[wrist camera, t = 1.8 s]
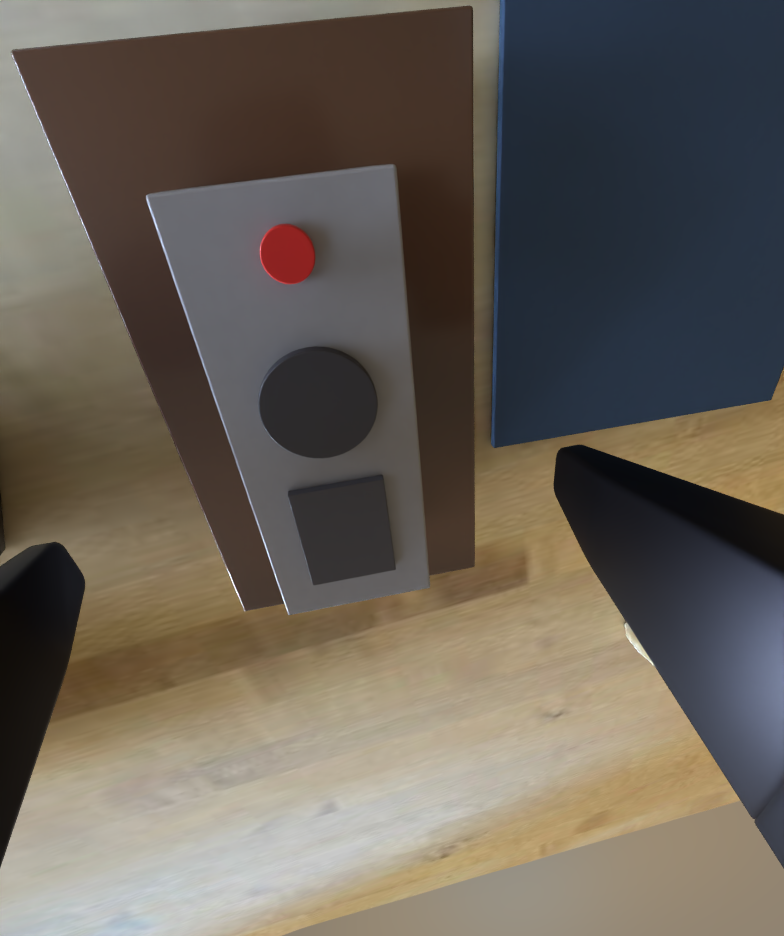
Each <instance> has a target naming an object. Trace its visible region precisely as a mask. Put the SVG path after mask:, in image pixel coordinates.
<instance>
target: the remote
mask: <svg viewBox="0 0 784 936" xmlns="http://www.w3.org/2000/svg"><path fill="white" fill-rule="evenodd" d="M146 201H147V203H148V206H149V209H150V212H151V215H152V218H153V221H154V224H155V227H156V230H157V233H158V236H159V239H160V241H161V244H162V247H163V250H164V253H165V256H166V259H167V262H168V265H169V268H170V271H171V274H172V276H173V279H174V282H175V285H176V288H177V291H178V294H179V297H180V300H181V303H182V306H183V309H184V312H185V314H186V317H187V320H188V323H189V326H190V329H191V332H192V335H193V338H194V341H195V344H196V347H197V350H198V352H199V355H200V358H201V361H202V364H203V367H204V370H205V373H206V376H207V379H208V382H209V385H210V387H211V390H212V393H213V396H214V399H215V402H216V405H217V408H218V411H219V414H220V417H221V420H222V423H223V425H224V428H225V431H226V434H227V437H228V440H229V443H230V446H231V449H232V452H233V455H234V458H235V461H236V463H237V466H238V469H239V472H240V475H241V478H242V481H243V484H244V487H245V490H246V493H247V496H248V499H249V501H250V504H251V507H252V510H253V513H254V516H255V519H256V522H257V525H258V528H259V531H260V534H261V536H262V539H263V542H264V545H265V548H266V551H267V554H268V557H269V560H270V563H271V566H272V569H273V572H274V574H275V577H276V580H277V583H278V586H279V589H280V592H281V595H282V598H283V601H284V604H285V607H286V610H287V612H288V614H289V615H292V614H297V613H302V612H307V611H312V610H318V609H323V608H328V607H333V606H338V605H343V604H348V603H353V602H359V601H364V600H369V599H374V598H379V597H384V596H389V595H394V594H400V593H405V592H410V591H415V590H420V589H425V588H429V587H430V577H429V564H428V552H427V539H426V527H425V515H424V502H423V490H422V477H421V465H420V452H419V440H418V428H417V415H416V403H415V390H414V378H413V365H412V353H411V341H410V328H409V316H408V303H407V291H406V278H405V266H404V254H403V241H402V229H401V216H400V204H399V191H398V179H397V168H396V166H395V165H394V164H386V165H373V166H365V167H357V168H349V169H340V170H332V171H324V172H316V173H308V174H299V175H291V176H283V177H275V178H267V179H258V180H250V181H242V182H234V183H226V184H218V185H209V186H201V187H193V188H185V189H178V190H171V191H164V192H158V193H151V194H148V195H146Z"/></svg>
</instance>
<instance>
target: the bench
mask: <svg viewBox="0 0 784 936" xmlns="http://www.w3.org/2000/svg"><path fill="white" fill-rule="evenodd" d="M11 55H12V57H13V60H14V62H15V65H16V67H17V69H18V72H19V74H20V77H21V79H22V81H23V84H24V86H25V88H26V91H27V93H28V96H29V98H30V100H31V103H32V105H33V108H34V110H35V112H36V115H37V117H38V119H39V122H40V124H41V127H42V129H43V131H44V134H45V136H46V139H47V141H48V143H49V146H50V148H51V151H52V153H53V155H54V158H55V160H56V162H57V165H58V167H59V170H60V172H61V174H62V177H63V179H64V182H65V184H66V186H67V189H68V191H69V193H70V196H71V198H72V201H73V203H74V205H75V208H76V210H77V213H78V215H79V217H80V220H81V222H82V224H83V227H84V229H85V232H86V234H87V236H88V239H89V241H90V244H91V246H92V248H93V251H94V253H95V256H96V258H97V260H98V263H99V265H100V267H101V270H102V272H103V275H104V277H105V279H106V282H107V284H108V287H109V289H110V291H111V294H112V296H113V298H114V301H115V303H116V306H117V308H118V310H119V313H120V315H121V318H122V320H123V322H124V325H125V327H126V330H127V332H128V334H129V337H130V339H131V341H132V344H133V346H134V349H135V351H136V353H137V356H138V358H139V361H140V363H141V365H142V368H143V370H144V372H145V375H146V377H147V380H148V382H149V384H150V387H151V389H152V392H153V394H154V396H155V399H156V401H157V403H158V406H159V408H160V411H161V413H162V415H163V418H164V420H165V423H166V425H167V427H168V430H169V432H170V435H171V437H172V439H173V442H174V444H175V446H176V449H177V451H178V454H179V456H180V458H181V461H182V463H183V466H184V468H185V470H186V473H187V475H188V477H189V480H190V482H191V485H192V487H193V489H194V492H195V494H196V497H197V499H198V501H199V504H200V506H201V508H202V511H203V513H204V516H205V518H206V520H207V523H208V525H209V528H210V530H211V532H212V535H213V537H214V540H215V542H216V544H217V547H218V549H219V551H220V554H221V556H222V559H223V561H224V563H225V566H226V568H227V571H228V573H229V575H230V578H231V580H232V582H233V585H234V587H235V590H236V592H237V594H238V597H239V599H240V602H241V604H242V606H243V609H244V611H248V610H253V609H259V608H264V607H269V606H274V605H279V604H284V601H283V598H282V595H281V592H280V589H279V586H278V583H277V580H276V577H275V574H274V572H273V569H272V566H271V563H270V560H269V557H268V554H267V551H266V548H265V545H264V542H263V539H262V536H261V534H260V531H259V528H258V525H257V522H256V519H255V516H254V513H253V510H252V507H251V504H250V501H249V499H248V496H247V493H246V490H245V487H244V484H243V481H242V478H241V475H240V472H239V469H238V466H237V463H236V461H235V458H234V455H233V452H232V449H231V446H230V443H229V440H228V437H227V434H226V431H225V428H224V425H223V423H222V420H221V417H220V414H219V411H218V408H217V405H216V402H215V399H214V396H213V393H212V390H211V387H210V385H209V382H208V379H207V376H206V373H205V370H204V367H203V364H202V361H201V358H200V355H199V352H198V350H197V347H196V344H195V341H194V338H193V335H192V332H191V329H190V326H189V323H188V320H187V317H186V314H185V312H184V309H183V306H182V303H181V300H180V297H179V294H178V291H177V288H176V285H175V282H174V279H173V276H172V274H171V271H170V268H169V265H168V262H167V259H166V256H165V253H164V250H163V247H162V244H161V241H160V239H159V236H158V233H157V230H156V227H155V224H154V221H153V218H152V215H151V212H150V209H149V206H148V203H147V201H146V195H148V194H151V193H158V192H164V191H171V190H178V189H185V188H193V187H201V186H209V185H218V184H226V183H234V182H242V181H250V180H258V179H267V178H275V177H283V176H291V175H299V174H308V173H316V172H324V171H332V170H340V169H349V168H357V167H365V166H373V165H386V164H394V165H395V166H396V168H397V179H398V191H399V204H400V216H401V229H402V241H403V254H404V266H405V278H406V291H407V303H408V316H409V328H410V341H411V353H412V365H413V378H414V390H415V403H416V415H417V428H418V440H419V452H420V465H421V477H422V490H423V502H424V515H425V527H426V539H427V552H428V564H429V576H430V575H435V574H440V573H445V572H450V571H456V570H461V569H466V568H471V567H474V566H475V471H474V178H473V8H472V6H470V5H469V6H459V7H449V8H438V9H428V10H418V11H407V12H397V13H387V14H376V15H366V16H356V17H345V18H335V19H325V20H314V21H304V22H294V23H283V24H273V25H263V26H252V27H242V28H232V29H221V30H211V31H201V32H191V33H180V34H170V35H160V36H149V37H139V38H129V39H118V40H108V41H98V42H87V43H77V44H67V45H56V46H46V47H36V48H25V49H15V50H12V51H11Z"/></svg>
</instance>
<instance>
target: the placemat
mask: <svg viewBox="0 0 784 936" xmlns="http://www.w3.org/2000/svg"><path fill="white" fill-rule="evenodd" d="M783 368H784V0H500V31H499V81H498V131H497V181H496V232H495V282H494V332H493V382H492V432H491V444H492V446H493V447H494V448H497V447H503V446H509V445H514V444H520V443H526V442H532V441H537V440H543V439H549V438H555V437H561V436H566V435H572V434H578V433H584V432H589V431H595V430H601V429H607V428H613V427H618V426H624V425H630V424H636V423H641V422H647V421H653V420H659V419H664V418H670V417H676V416H682V415H688V414H693V413H699V412H705V411H711V410H716V409H722V408H728V407H734V406H740V405H745V404H751V403H757V402H763V401H768V400H771V399H772V396H773V394H774V391H775V388H776V386H777V383H778V381H779V378H780V375H781V373H782V370H783Z"/></svg>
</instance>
